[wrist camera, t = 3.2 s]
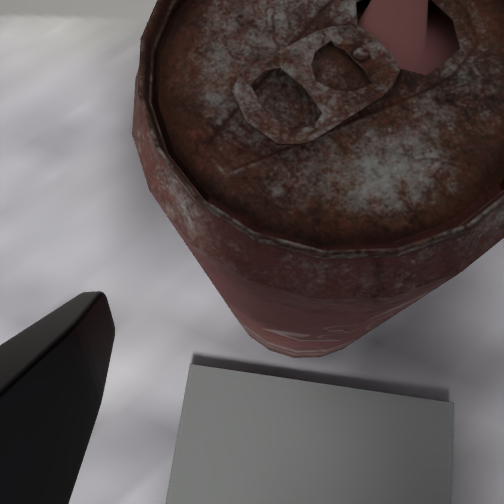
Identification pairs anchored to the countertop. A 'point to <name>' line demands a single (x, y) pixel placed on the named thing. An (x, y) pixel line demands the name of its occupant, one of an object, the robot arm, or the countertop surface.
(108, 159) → the countertop surface
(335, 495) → the mat
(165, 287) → the countertop surface
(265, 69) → the can
